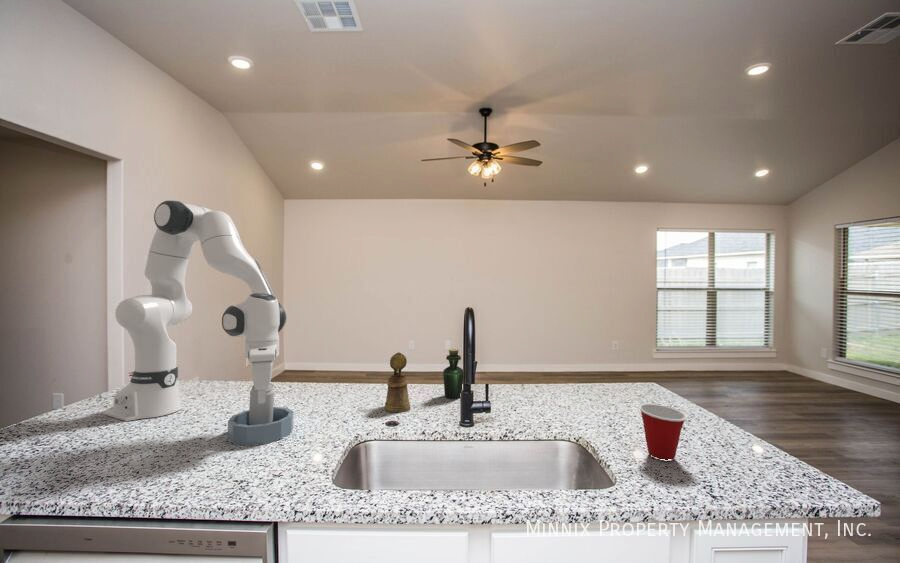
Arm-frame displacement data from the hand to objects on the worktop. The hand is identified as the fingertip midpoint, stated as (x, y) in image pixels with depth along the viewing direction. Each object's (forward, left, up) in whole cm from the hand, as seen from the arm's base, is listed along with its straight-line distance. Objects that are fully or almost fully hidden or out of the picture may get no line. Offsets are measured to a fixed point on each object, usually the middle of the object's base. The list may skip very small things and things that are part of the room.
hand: (261, 398), depth 112 cm
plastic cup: (+108, +15, -10) cm, 110 cm away
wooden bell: (+28, +34, -10) cm, 45 cm away
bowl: (0, 0, -10) cm, 10 cm away
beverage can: (-2, +2, -9) cm, 9 cm away
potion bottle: (+44, +51, -10) cm, 68 cm away
